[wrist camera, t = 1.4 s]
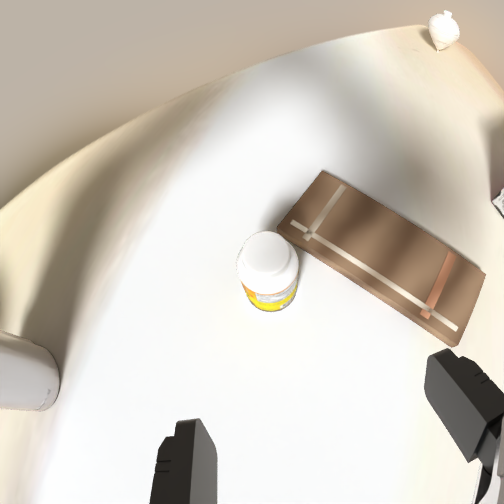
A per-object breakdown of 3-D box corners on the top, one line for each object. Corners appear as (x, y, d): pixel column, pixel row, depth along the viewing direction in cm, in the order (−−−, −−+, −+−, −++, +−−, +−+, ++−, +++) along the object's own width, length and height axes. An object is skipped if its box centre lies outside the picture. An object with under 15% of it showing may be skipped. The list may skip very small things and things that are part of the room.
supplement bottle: (247, 265, 37) (234, 221, 28) (296, 266, 37) (299, 221, 27) (244, 313, 35) (228, 283, 26) (296, 314, 34) (299, 284, 25)
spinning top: (437, 44, 56) (447, 5, 45) (458, 61, 52) (470, 21, 41) (416, 44, 55) (424, 3, 44) (437, 61, 52) (449, 18, 41)
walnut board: (277, 233, 38) (276, 226, 37) (321, 178, 41) (322, 170, 40) (451, 347, 30) (458, 345, 29) (479, 278, 33) (486, 274, 32)
